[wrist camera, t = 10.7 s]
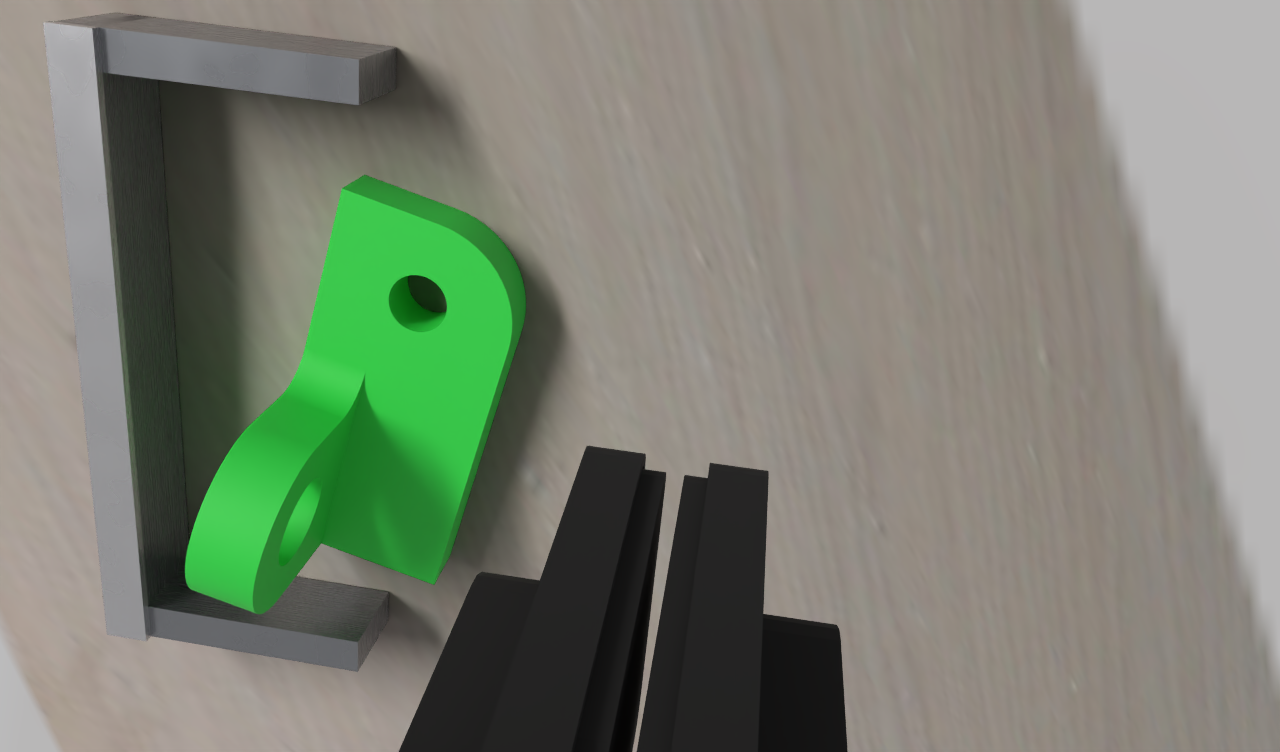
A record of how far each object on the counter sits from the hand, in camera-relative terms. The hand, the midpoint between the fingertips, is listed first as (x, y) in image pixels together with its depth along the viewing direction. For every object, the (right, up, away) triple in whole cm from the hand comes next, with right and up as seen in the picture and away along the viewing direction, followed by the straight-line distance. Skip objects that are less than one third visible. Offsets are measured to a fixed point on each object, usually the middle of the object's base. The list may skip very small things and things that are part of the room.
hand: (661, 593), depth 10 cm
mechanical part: (-8, +2, +26) cm, 28 cm away
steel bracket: (-13, +3, +26) cm, 29 cm away
